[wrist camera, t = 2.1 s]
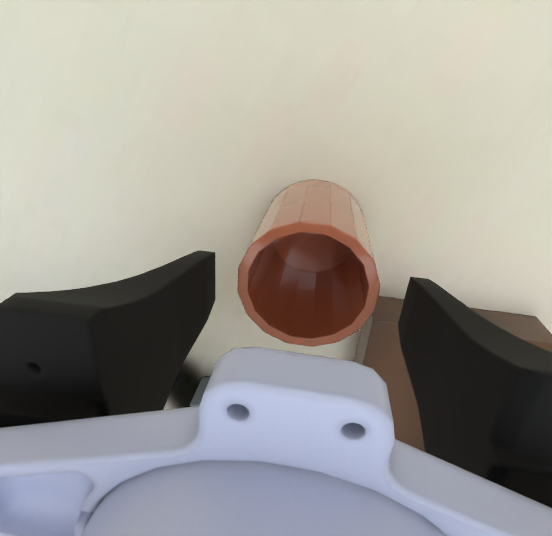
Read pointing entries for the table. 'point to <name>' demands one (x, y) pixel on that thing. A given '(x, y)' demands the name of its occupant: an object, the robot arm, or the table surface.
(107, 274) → the table surface
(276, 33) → the table surface
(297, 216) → the cup
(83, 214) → the table surface
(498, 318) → the walnut block
